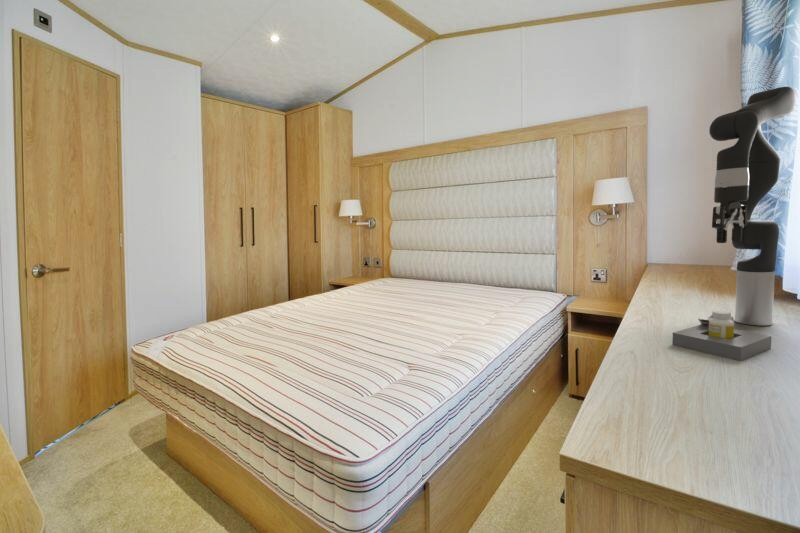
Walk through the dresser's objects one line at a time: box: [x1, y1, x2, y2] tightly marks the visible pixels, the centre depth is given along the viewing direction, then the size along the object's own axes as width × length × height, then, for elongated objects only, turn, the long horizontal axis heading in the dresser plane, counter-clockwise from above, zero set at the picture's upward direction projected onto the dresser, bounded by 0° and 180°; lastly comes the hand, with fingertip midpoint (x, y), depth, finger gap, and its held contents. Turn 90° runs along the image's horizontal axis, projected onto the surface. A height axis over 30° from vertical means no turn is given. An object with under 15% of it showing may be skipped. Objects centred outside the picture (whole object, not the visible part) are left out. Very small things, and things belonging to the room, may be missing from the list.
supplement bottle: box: [709, 309, 735, 340], centre depth 108 cm, size 5×5×10 cm
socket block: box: [672, 323, 772, 362], centre depth 109 cm, size 16×16×4 cm
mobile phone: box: [697, 314, 734, 325], centre depth 123 cm, size 6×6×25 cm
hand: (729, 241), depth 115 cm, fingers open, 8 cm apart
